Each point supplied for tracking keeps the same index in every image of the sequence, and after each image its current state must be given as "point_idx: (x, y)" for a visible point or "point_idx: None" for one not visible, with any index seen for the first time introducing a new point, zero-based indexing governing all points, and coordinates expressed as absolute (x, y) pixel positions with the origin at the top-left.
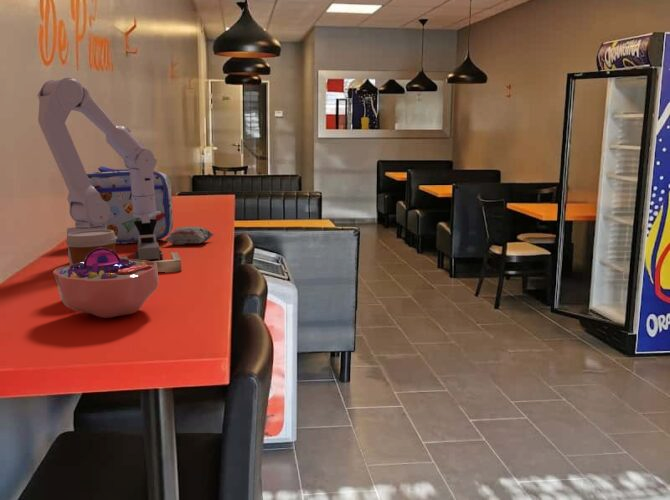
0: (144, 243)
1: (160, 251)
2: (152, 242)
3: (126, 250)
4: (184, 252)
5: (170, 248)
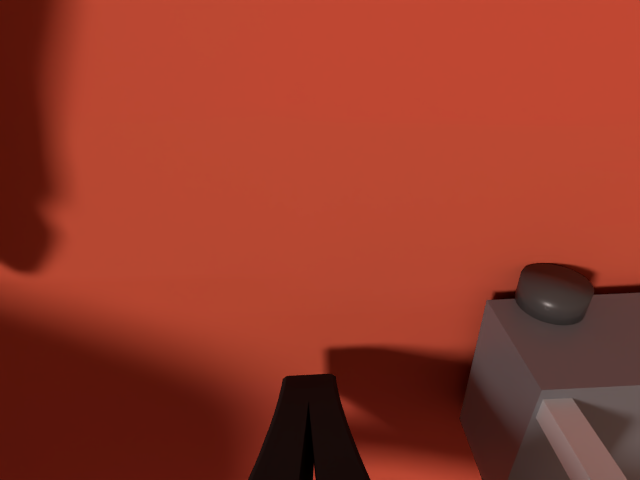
0: (542, 475)
1: (590, 297)
2: (533, 427)
3: (126, 467)
4: (492, 11)
5: (91, 184)
